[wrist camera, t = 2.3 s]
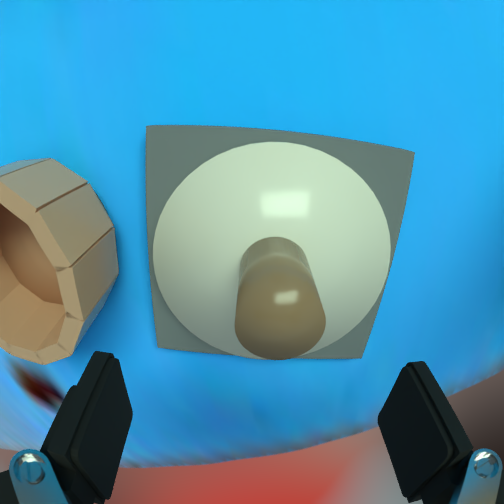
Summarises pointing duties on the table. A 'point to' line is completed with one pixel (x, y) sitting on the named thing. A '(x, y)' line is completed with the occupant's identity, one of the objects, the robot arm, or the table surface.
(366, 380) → the table surface
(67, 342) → the bowl
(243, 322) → the lid
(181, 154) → the mat
